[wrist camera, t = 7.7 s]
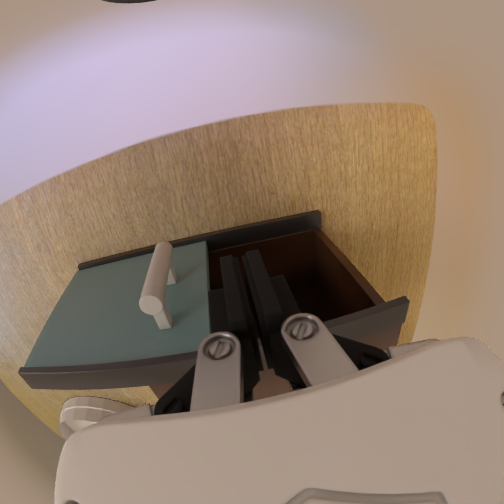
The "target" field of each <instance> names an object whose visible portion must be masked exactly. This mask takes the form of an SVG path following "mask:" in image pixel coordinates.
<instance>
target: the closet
mask: <svg viewBox="0 0 504 504" xmlns="http://www.w3.org/2000/svg"><path fill="white" fill-rule="evenodd" d="M202 241H206V243H207V247H208V260H209V279H210V291H211V290H215V289H220V288H224V287H223V280H222V273H221V265H220V257H225V256H229V255H232V258H236V257H238V261H239V265H240V269H241V273H242V277H243V281H244V285H245V289H246V293H247V297H248V301H249V305H250V309H251V313H252V317H253V322H254V326H255V331H256V336H257V340H258V345H259V350H260V354H261V359H262V363H263V368H264V371H260V372H259V375H260V381H259V382H258V383H257V385H256V386H255V387H254V388H253V389H254V394H255V400H260V399H264V398H268V397H273V396H277V395H281V394H285V393H289V392H291V390H290V388H289V386H288V384H287V380H286V379H283V378H281V377H279V376H277V375H276V376H275V372H274V369H269V370H268V367H267V363H266V359H265V355H264V352H263V348H262V344H261V340H260V337H259V333H258V329H257V325H256V321H255V318H254V314H253V310H252V306H251V301H250V296H249V291H248V286H247V281H246V276H245V271H244V266H243V261H242V256H245V255H246V252H248V251H252V250H257V249H258V250H259V252H260V255H261V257H262V260H263V262H264V265H265V268H266V270H267V273H268V275H269V278H270V277H274V276H279V275H284V277H285V279H286V281H287V283H288V286H289V288H290V290H291V292H292V294H293V296H294V299H295V301H296V303H297V305H298V307H299V310H300V312H301V313H308V314H312V315H314V316H316V317H318V318H319V319H320V320H321V321H322V323H323V324H324V325H325V327H326V328H327V329H328V330H329V332H330V333H332V334H335V335H338V336H342V337H345V338H348V339H351V340H354V341H358V342H361V343H364V344H368V345H371V346H374V347H377V348H380V349H382V350H383V351H384V350H388V347H392V346H396V345H397V341H398V338H399V334H400V330H401V326H402V323H404V322H405V319H406V315H407V311H408V306H409V302H410V301H409V300H408V299H407V297H406V296H402V297H400V298H397V299H394V300H391V301H388V302H385V301H384V300H383V299H382V298H381V296H380V295H379V294H378V293H377V292H376V291H375V289H374V288H373V287H372V286H371V285H370V284H369V282H368V281H367V280H366V279H365V278H364V277H363V275H362V274H361V273H360V272H359V271H358V270H357V269H356V267H355V266H354V265H353V264H352V263H351V262H350V261H349V260H348V259H347V257H346V256H345V255H344V254H343V253H342V252H341V251H340V250H339V249H338V247H337V246H336V245H335V244H334V243H333V242H332V241H331V240H330V239H329V238H328V237H327V236H326V235H325V233H324V232H323V231H322V230H321V212H320V211H318V210H317V211H311V212H306V213H301V214H296V215H291V216H286V217H281V218H276V219H271V220H266V221H261V222H256V223H252V224H247V225H242V226H237V227H233V228H228V229H223V230H219V231H214V232H210V233H205V234H201V235H196V236H192V237H187V238H183V239H178V240H174V241H170V242H169V243H170V244H171V245H172V247H173V248H176V247H180V246H185V245H189V244H193V243H198V242H202ZM155 247H156V245H153V246H149V247H144V248H140V249H136V250H132V251H128V252H124V253H120V254H116V255H112V256H108V257H104V258H100V259H96V260H92V261H88V262H84V263H80V264H79V265H78V269H79V270H83V269H87V268H91V267H95V266H99V265H104V264H108V263H112V262H116V261H120V260H124V259H128V258H133V257H137V256H141V255H145V254H150V253H154V250H155ZM197 354H198V351H193V352H187V353H181V354H175V355H168V356H162V357H154V358H147V359H139V360H131V361H122V362H112V363H102V364H90V365H75V366H56V367H21V368H20V369H19V372H18V373H19V375H20V376H21V377H22V378H23V379H24V380H25V381H26V383H27V384H28V385H29V386H30V387H31V388H32V389H57V390H83V389H111V388H127V387H139V386H150V388H151V389H152V391H153V392H154V393H155V395H156V396H157V397H158V399H160V398H161V397H162V396H163V395H164V394H165V393H166V392H167V391H168V390H169V389H170V388H171V387H172V386H173V385H174V384H175V383H176V382H177V381H178V380H179V379H180V378H181V377H182V376H183V375H184V374H185V373H187V372H188V371H189V370H190V369H191V368H192V367H193V366H194V365H195V364H196V361H197Z"/></svg>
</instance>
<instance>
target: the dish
mask: <svg viewBox="0 0 504 504" xmlns="http://www.w3.org/2000/svg"><path fill="white" fill-rule="evenodd" d="M132 408H135V407H132V406H129V405H126V404H124V403H121V402H117V401H113V400H109V399H105V398H98V397H91V396H82V397H74V398H70V399H68V400H67V401H66V402H65V403H64V404H63V408H62V411H61V415H60V418H61V419H60V423H59V428H58V430H59V432H60V434H61V435H62V436H63V438H64V439H65V440H66V441H67V439H68V438H69V437H70V436H71V435H72V434H73V433H75V432H76V431H78V430H80V429H82V428H84V427H87V426H89V425H92V424H95V423H97V422H98V421H99V420H100V419H101V418H102V417H104V416H106V415H109V414H113V413H117V412H121V411H125V410H128V409H132Z"/></svg>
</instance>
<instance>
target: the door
mask: <svg viewBox="0 0 504 504" xmlns="http://www.w3.org/2000/svg"><path fill="white" fill-rule="evenodd" d="M208 291H210V279H209V260H208V247H207V243H206V241H202V242H198V243H193V244H189V245H185V246H180V247H176V248H173V247H172V245H171V244H170V243H169V242H166V241H161V242H159V243H158V244H157V245H156V247H155V250H154V253H150V254H145V255H141V256H137V257H133V258H128V259H124V260H120V261H116V262H112V263H108V264H104V265H99V266H95V267H91V268H87V269H83V270H79V271H77V272H76V274H75V275H74V277H73V279H72V280H71V282H70V283H69V285H68V286H67V288H66V290H65V291H64V293H63V295H62V296H61V298H60V300H59V301H58V303H57V305H56V306H55V308H54V310H53V312H52V313H51V315H50V317H49V319H48V320H47V322H46V324H45V326H44V328H43V330H42V331H41V333H40V335H39V337H38V339H37V341H36V343H35V345H34V347H33V349H32V351H31V353H30V355H29V357H28V359H27V362H26V364H25V366H24V367H56V366H75V365H90V364H102V363H112V362H122V361H131V360H139V359H147V358H154V357H162V356H168V355H175V354H181V353H187V352H193V351H198V348H199V345H200V343H201V342H202V340H203V339H204V338H205V337H207V336H208V335H210V334H211V329H210V316H209V303H208Z"/></svg>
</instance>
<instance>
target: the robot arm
mask: <svg viewBox="0 0 504 504" xmlns="http://www.w3.org/2000/svg"><path fill="white" fill-rule="evenodd" d="M242 261H243V266H244V271H245V276H246V281H247V286H248V291H249V296H250V301H251V306H252V310H253V314H254V318H255V321H256V325H257V329H258V333H259V337H260V340H261V344H262V348H263V352H264V355H265V359H266V363H267V367H268V370H269V369H274V372H275V376H276V375H277V376H279V377H281V378H283V379H286V380H287V384H288V386H289V388H290V390H291V392H289V393H285V394H281V395H277V396H273V397H268V398H264V399H260V400H255V394H254V389H253V388H254V387H255V386H256V385H257V383H258V382H259V381H260V375H259V372H260V371H264V368H263V363H262V359H261V354H260V350H259V345H258V340H257V336H256V331H255V326H254V322H253V317H252V313H251V309H250V305H249V301H248V297H247V293H246V289H245V285H244V281H243V277H242V273H241V269H240V265H239V261H238V257H236V258H232V255H229V256H225V257H220V265H221V273H222V280H223V287H224V288H220V289H215V290H211V291H208V303H209V316H210V329H211V334H210V335H208V336H207V337H205V338H204V339H203V340H202V342H201V343H200V345H199V348H198V354H197V361H196V364H195V365H194V366H193V367H192V368H191V369H190V370H189V371H188V372H187V373H185V374H184V375H183V376H182V377H181V378H180V379H179V380H178V381H177V382H176V383H175V384H174V385H173V386H172V387H171V388H170V389H169V390H168V391H167V392H166V393H165V394H164V395H163V396H162V397H161V398H160V399H159V400H158V402H157V403H156V404H155V405H152V406H151V405H150V404H146V405H142V406H139V407H135V408H132V409H128V410H125V411H121V412H117V413H113V414H109V415H106V416H104V417H102V418H101V419H100V420H99V421H98V422H97V423H95V424H92V425H89V426H87V427H84V428H82V429H80V430H78V431H76V432H75V433H73V434H72V435H71V436H70V437H69V438H68V439H67V441H66V442H65V444H64V446H63V449H62V451H61V455H60V459H59V463H58V469H57V475H56V484H55V497H54V504H504V363H503V362H502V361H501V359H500V358H499V357H498V356H497V355H496V354H495V353H494V352H493V351H492V350H491V349H490V348H489V347H488V346H487V345H486V344H484V343H482V342H481V341H479V340H478V339H474V338H468V337H459V338H449V339H444V340H437V339H428V340H423V341H418V342H413V343H408V344H403V345H397V346H392V347H388V350H384V351H383V350H382V349H380V348H377V347H374V346H371V345H368V344H364V343H361V342H358V341H354V340H351V339H348V338H345V337H342V336H338V335H335V334H332V333H330V332H329V330H328V329H327V328H326V327H325V325H324V324H323V323H322V321H321V320H320V319H319V318H318V317H316V316H314V315H312V314H308V313H301V312H300V310H299V307H298V305H297V303H296V301H295V299H294V296H293V294H292V292H291V290H290V288H289V286H288V283H287V281H286V279H285V277H284V275H279V276H274V277H270V278H269V275H268V273H267V270H266V268H265V265H264V262H263V260H262V257H261V255H260V252H259V250H258V249H257V250H252V251H248V252H246V255H245V256H242Z"/></svg>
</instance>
